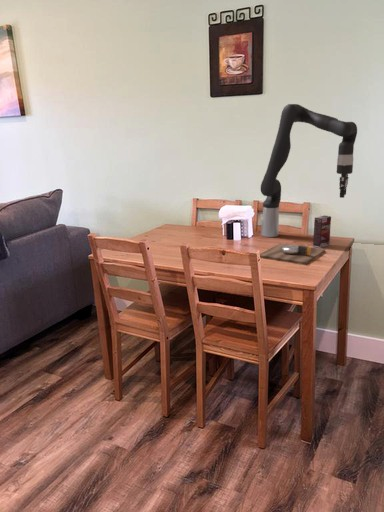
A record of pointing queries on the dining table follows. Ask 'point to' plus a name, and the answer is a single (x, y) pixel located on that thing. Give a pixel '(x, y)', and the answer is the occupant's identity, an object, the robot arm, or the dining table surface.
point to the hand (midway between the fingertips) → (342, 196)
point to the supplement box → (321, 231)
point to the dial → (296, 249)
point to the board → (291, 255)
